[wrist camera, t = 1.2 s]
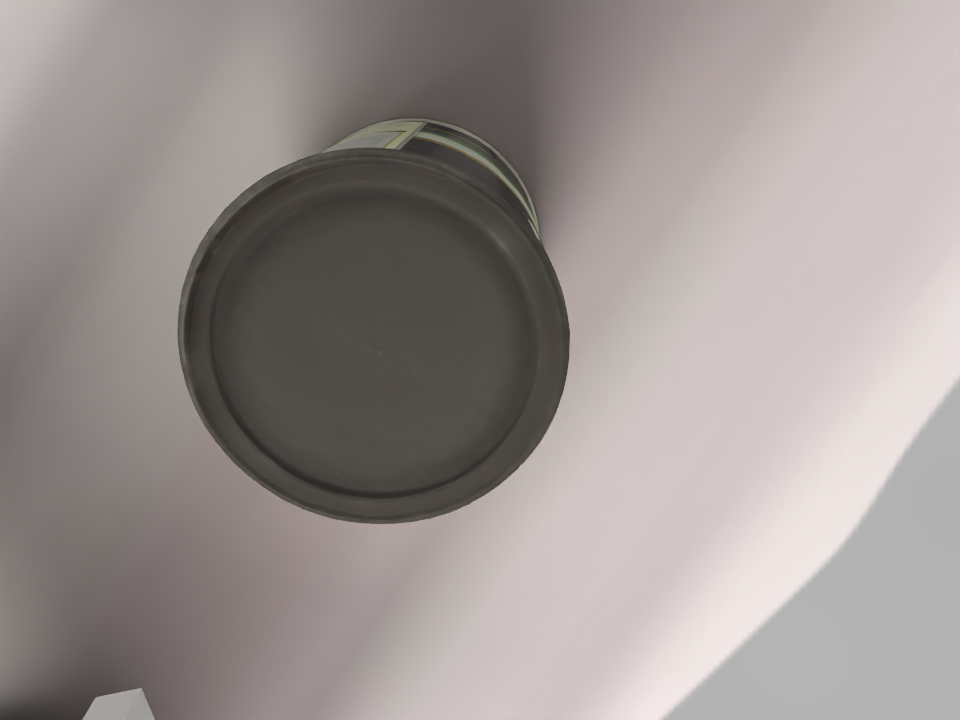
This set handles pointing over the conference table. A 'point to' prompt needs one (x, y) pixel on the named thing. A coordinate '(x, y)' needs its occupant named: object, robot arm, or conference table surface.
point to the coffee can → (378, 326)
